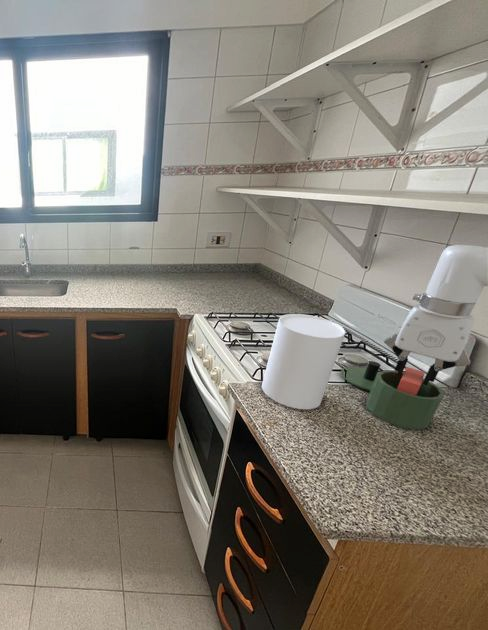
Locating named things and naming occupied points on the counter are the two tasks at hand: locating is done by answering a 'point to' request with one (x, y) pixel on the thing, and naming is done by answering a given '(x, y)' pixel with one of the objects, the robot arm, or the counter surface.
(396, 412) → the tin
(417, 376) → the red rectangular block
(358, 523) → the counter surface
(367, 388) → the tin lid
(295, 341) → the canister
